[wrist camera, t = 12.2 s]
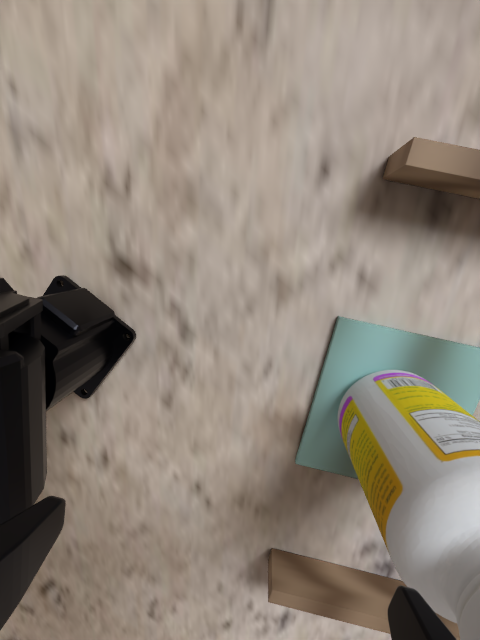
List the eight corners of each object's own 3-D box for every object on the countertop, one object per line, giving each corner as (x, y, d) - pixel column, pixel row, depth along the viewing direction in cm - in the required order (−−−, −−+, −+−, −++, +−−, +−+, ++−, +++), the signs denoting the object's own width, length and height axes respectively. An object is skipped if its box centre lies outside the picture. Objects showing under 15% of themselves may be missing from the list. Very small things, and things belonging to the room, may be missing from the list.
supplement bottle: (371, 472, 21) (522, 795, 9) (315, 403, 20) (391, 647, 8) (460, 422, 20) (794, 721, 7) (403, 345, 19) (667, 531, 6)
